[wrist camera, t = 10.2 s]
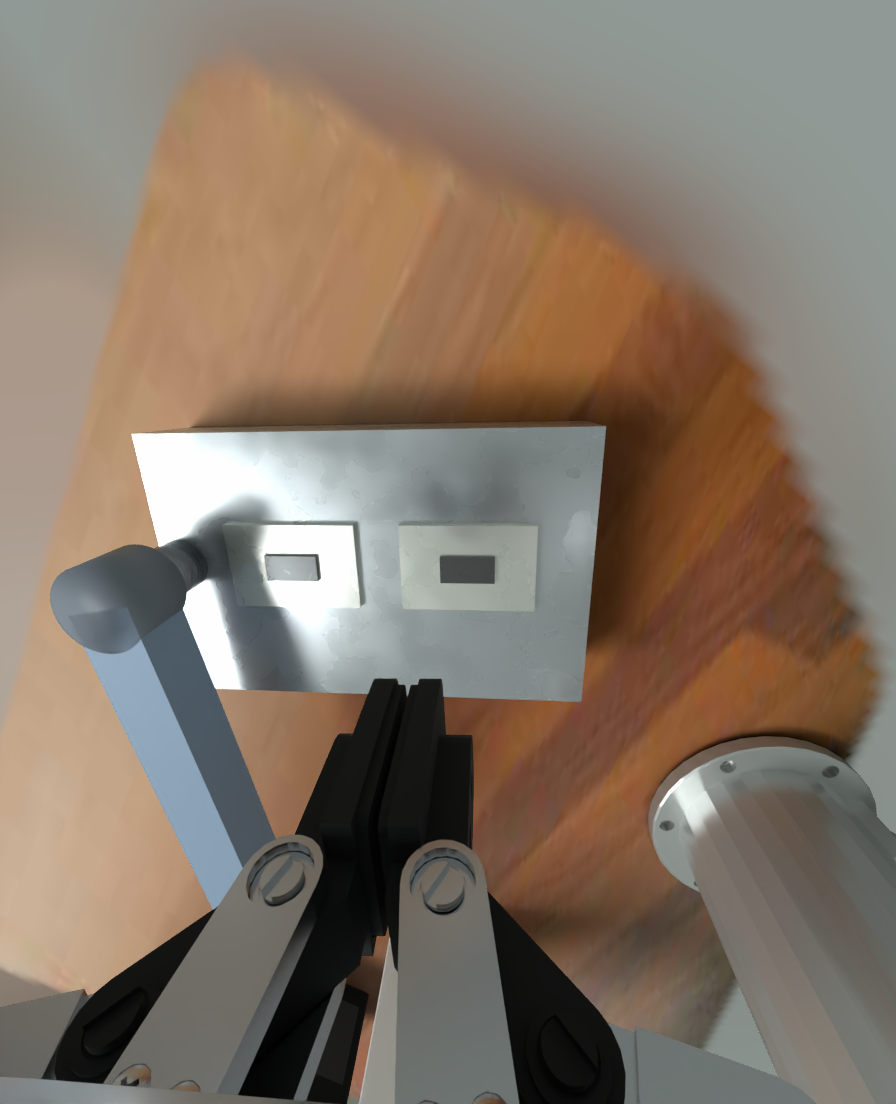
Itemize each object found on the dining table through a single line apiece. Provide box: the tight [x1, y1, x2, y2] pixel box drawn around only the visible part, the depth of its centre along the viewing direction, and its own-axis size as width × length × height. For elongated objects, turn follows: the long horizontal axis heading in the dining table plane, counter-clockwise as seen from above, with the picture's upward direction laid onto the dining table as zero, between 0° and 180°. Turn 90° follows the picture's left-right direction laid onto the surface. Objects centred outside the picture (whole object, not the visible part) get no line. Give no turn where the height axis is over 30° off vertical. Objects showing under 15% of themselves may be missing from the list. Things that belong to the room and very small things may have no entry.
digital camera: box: [306, 984, 368, 1104], centre depth 35 cm, size 10×5×7 cm, turn 62°
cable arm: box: [50, 545, 275, 909], centre depth 20 cm, size 20×4×3 cm, turn 10°
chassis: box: [132, 421, 606, 702], centre depth 22 cm, size 20×13×6 cm, turn 91°
